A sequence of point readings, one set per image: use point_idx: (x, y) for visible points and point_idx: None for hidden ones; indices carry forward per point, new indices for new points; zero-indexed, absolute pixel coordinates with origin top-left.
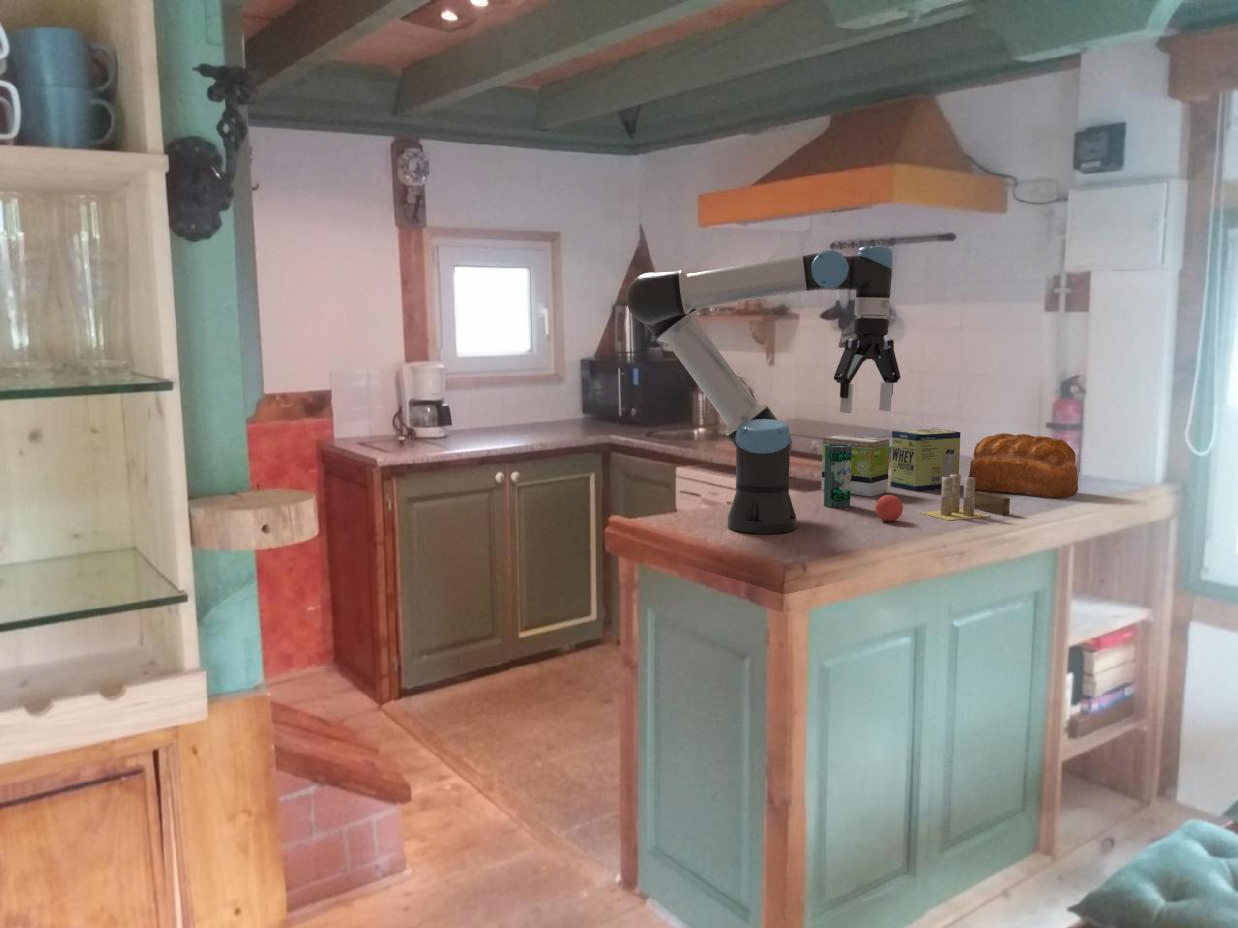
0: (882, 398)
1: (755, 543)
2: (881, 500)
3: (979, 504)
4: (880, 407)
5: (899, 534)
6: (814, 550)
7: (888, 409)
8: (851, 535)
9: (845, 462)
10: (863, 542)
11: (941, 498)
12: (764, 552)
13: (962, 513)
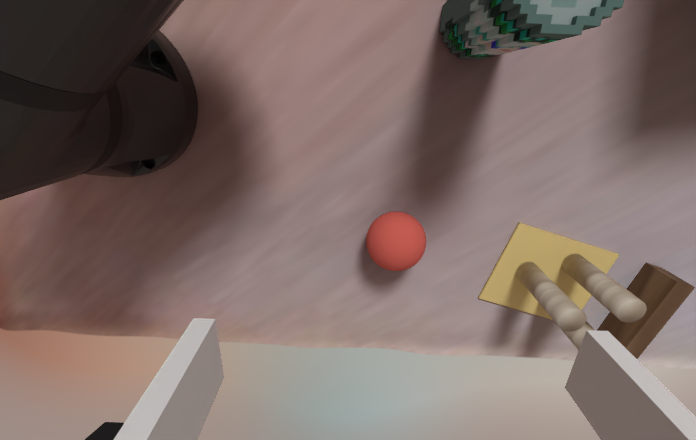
0: (642, 421)
1: (30, 196)
2: (375, 243)
3: (642, 286)
4: (598, 351)
5: (305, 306)
6: (97, 290)
7: (573, 395)
8: (229, 261)
9: (513, 42)
10: (206, 303)
11: (536, 283)
12: (12, 251)
13: (563, 283)
